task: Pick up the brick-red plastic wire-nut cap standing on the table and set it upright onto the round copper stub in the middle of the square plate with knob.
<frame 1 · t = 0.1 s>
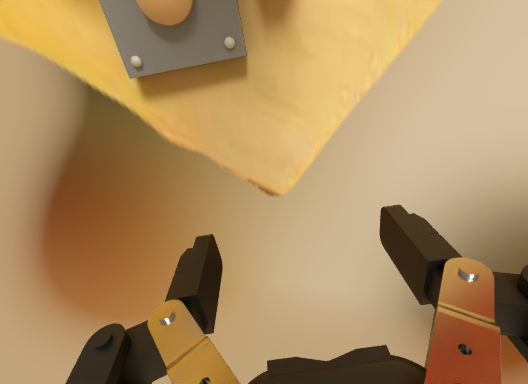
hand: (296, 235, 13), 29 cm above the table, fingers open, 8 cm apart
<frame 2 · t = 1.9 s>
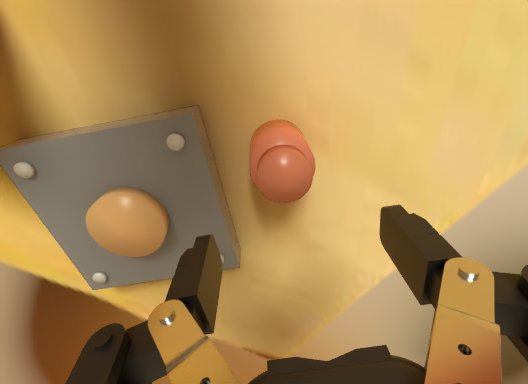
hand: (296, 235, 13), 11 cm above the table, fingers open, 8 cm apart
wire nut: (277, 147, 22), on the table
square plate with knob: (143, 202, 25), on the table
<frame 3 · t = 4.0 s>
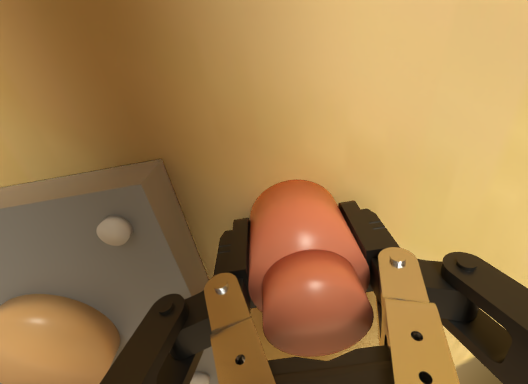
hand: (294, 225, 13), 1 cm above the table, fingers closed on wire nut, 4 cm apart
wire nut: (293, 219, 14), on the table, touching gripper
square plate with knob: (86, 294, 16), on the table
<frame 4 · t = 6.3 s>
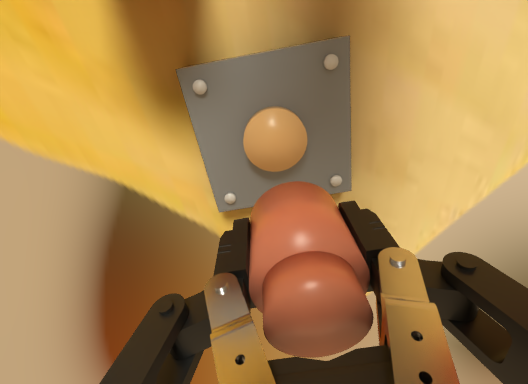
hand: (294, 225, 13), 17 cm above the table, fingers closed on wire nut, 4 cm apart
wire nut: (294, 220, 14), point 16 cm above the table, touching gripper
square plate with knob: (272, 130, 28), on the table
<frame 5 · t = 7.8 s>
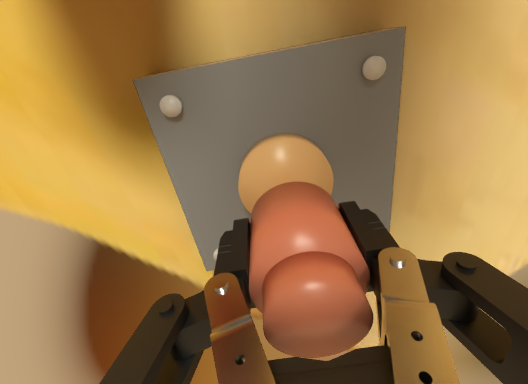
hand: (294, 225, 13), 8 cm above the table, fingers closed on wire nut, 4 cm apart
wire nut: (294, 220, 14), point 7 cm above the table, touching gripper
square plate with knob: (280, 162, 20), on the table
when the fingers open (5 cm above the table, at t = 9.1 s): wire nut stays where it is, resting on square plate with knob.
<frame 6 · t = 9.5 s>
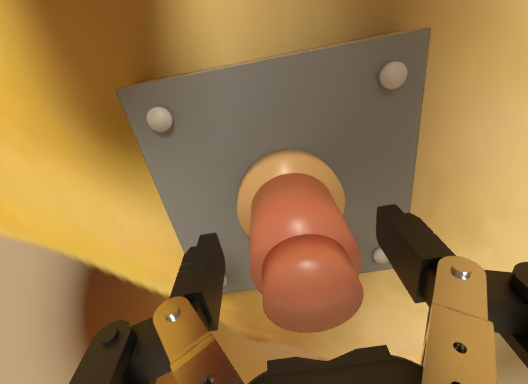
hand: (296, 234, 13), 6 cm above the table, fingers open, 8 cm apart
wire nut: (292, 210, 15), point 4 cm above the table, touching square plate with knob
square plate with knob: (284, 177, 18), on the table
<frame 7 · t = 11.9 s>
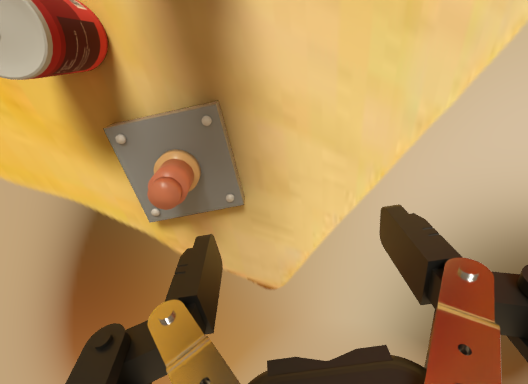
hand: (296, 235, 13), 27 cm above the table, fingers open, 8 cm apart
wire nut: (176, 174, 36), point 4 cm above the table, touching square plate with knob
canned food: (76, 35, 32), on the table
square plate with knob: (183, 163, 39), on the table
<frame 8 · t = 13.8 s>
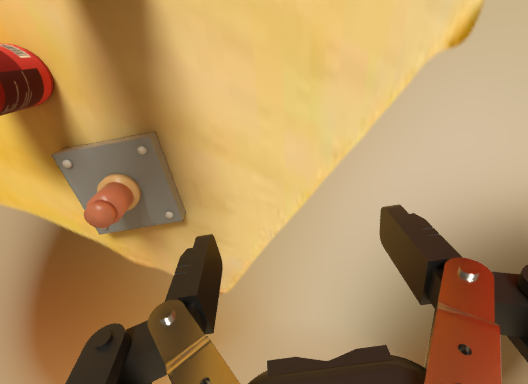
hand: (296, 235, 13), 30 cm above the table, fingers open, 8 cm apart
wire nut: (118, 195, 41), point 4 cm above the table, touching square plate with knob
canned food: (25, 75, 36), on the table
square plate with knob: (128, 183, 44), on the table
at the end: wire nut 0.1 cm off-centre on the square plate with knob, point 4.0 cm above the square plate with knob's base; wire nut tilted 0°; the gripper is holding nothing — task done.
